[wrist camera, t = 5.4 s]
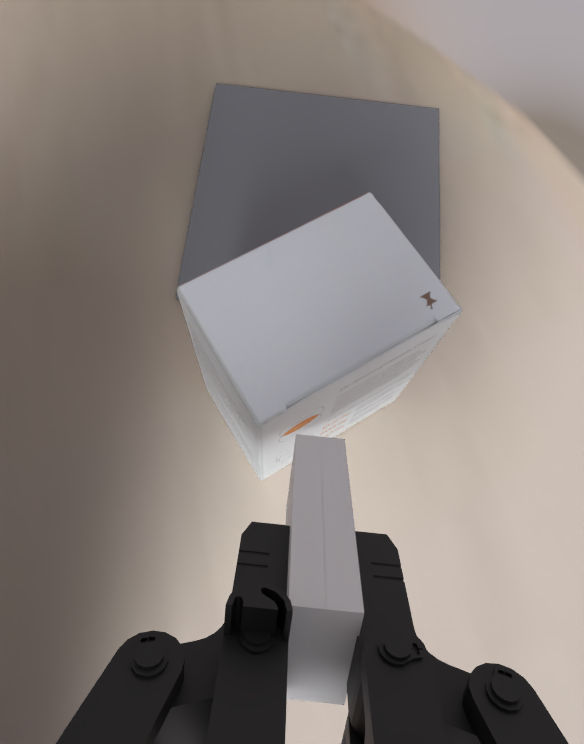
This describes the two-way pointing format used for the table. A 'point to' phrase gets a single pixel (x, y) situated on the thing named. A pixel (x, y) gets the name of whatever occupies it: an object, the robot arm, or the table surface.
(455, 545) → the table surface
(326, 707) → the table surface
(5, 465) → the table surface
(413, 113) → the mat
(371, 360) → the small box
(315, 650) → the robot arm
